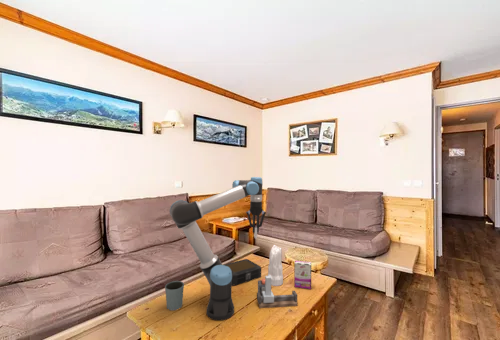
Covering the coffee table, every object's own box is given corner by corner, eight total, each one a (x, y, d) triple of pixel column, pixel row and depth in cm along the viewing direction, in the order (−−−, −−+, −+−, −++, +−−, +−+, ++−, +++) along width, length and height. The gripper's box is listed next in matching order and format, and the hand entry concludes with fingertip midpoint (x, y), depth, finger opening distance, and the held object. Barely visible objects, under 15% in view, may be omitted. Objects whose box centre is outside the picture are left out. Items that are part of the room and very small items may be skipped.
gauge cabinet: (259, 298, 141) (259, 285, 141) (257, 293, 147) (257, 280, 147) (270, 297, 142) (270, 284, 142) (268, 292, 148) (268, 280, 148)
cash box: (233, 287, 155) (233, 275, 155) (218, 275, 171) (219, 265, 171) (262, 277, 169) (262, 267, 169) (246, 267, 186) (246, 258, 186)
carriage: (263, 303, 132) (264, 279, 132) (261, 297, 138) (262, 274, 138) (274, 302, 133) (274, 278, 133) (271, 297, 139) (272, 274, 139)
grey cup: (187, 304, 134) (187, 283, 134) (173, 313, 125) (173, 291, 125) (174, 299, 139) (175, 279, 139) (160, 307, 130) (161, 286, 130)
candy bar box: (311, 286, 157) (311, 261, 157) (311, 289, 153) (311, 264, 153) (294, 283, 160) (294, 260, 160) (293, 287, 155) (294, 262, 155)
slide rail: (258, 308, 131) (259, 298, 131) (256, 300, 139) (256, 291, 139) (298, 305, 134) (298, 296, 134) (293, 298, 142) (293, 289, 142)
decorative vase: (282, 286, 156) (283, 249, 156) (266, 285, 158) (267, 248, 158) (283, 279, 166) (283, 244, 166) (268, 277, 168) (269, 243, 168)
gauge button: (262, 286, 143) (262, 281, 143) (261, 284, 146) (261, 278, 146) (267, 286, 143) (267, 281, 143) (266, 284, 147) (266, 278, 147)
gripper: (246, 201, 145) (246, 239, 145) (267, 201, 147) (266, 239, 147) (245, 200, 153) (244, 236, 153) (265, 200, 154) (264, 235, 155)
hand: (255, 237), depth 150 cm, fingers closed
